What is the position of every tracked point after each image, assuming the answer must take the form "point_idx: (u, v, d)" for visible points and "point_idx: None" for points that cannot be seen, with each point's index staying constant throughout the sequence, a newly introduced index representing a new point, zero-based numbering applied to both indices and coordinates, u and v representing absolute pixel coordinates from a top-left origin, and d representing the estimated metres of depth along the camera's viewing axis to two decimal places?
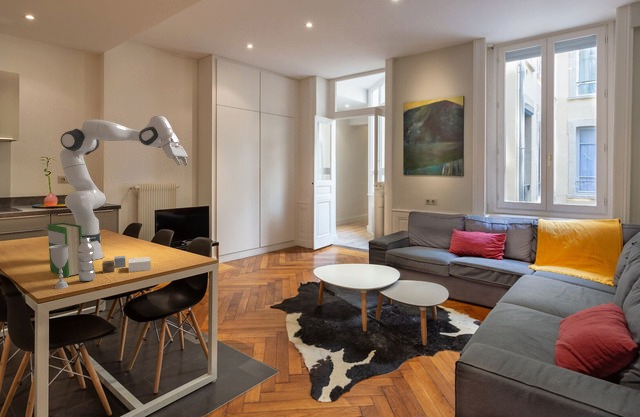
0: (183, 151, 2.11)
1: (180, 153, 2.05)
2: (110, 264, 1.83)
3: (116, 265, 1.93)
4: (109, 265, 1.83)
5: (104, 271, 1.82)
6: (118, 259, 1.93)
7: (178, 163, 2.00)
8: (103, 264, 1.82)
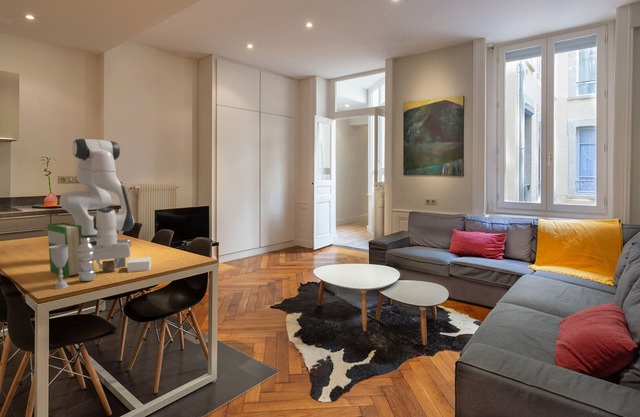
0: (122, 251, 1.86)
1: (108, 256, 1.83)
2: (110, 264, 1.83)
3: None
4: (109, 265, 1.83)
5: (104, 271, 1.82)
6: None
7: (99, 266, 1.83)
8: (103, 264, 1.82)
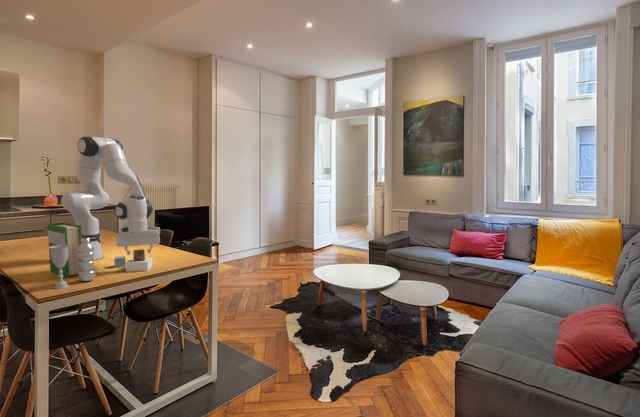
0: (152, 238, 1.91)
1: (139, 242, 1.88)
2: (141, 253, 1.88)
3: (116, 265, 1.93)
4: (140, 254, 1.88)
5: (135, 259, 1.87)
6: (118, 259, 1.93)
7: (127, 253, 1.88)
8: (134, 252, 1.87)
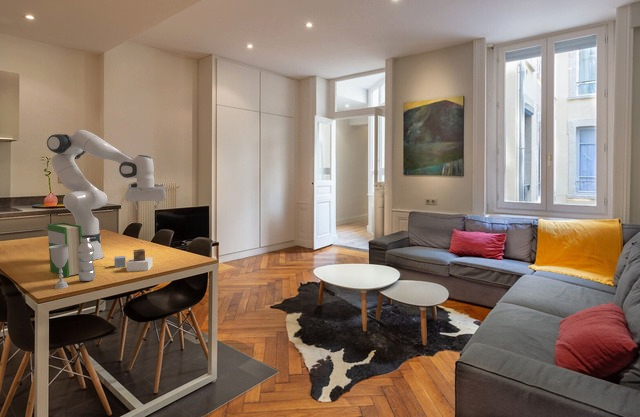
0: (158, 195, 2.08)
1: (146, 198, 2.05)
2: (141, 252, 1.89)
3: (116, 265, 1.93)
4: (140, 253, 1.88)
5: (136, 259, 1.88)
6: (118, 259, 1.93)
7: None
8: (135, 252, 1.87)
